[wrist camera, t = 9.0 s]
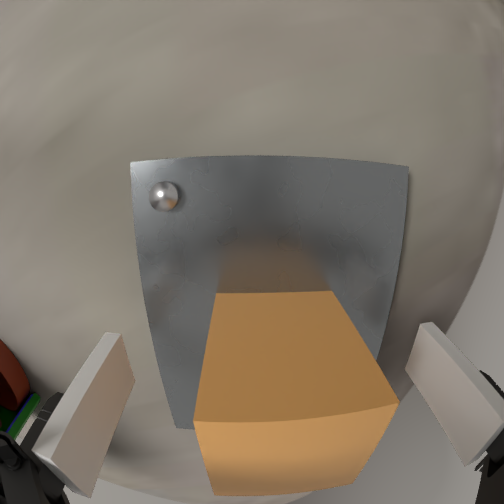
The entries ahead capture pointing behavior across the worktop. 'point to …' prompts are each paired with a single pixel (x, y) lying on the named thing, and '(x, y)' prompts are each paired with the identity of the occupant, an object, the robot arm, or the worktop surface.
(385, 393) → the orange block
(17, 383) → the motor
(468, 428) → the robot arm
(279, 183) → the plate
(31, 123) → the worktop surface
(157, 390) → the worktop surface
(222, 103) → the worktop surface
